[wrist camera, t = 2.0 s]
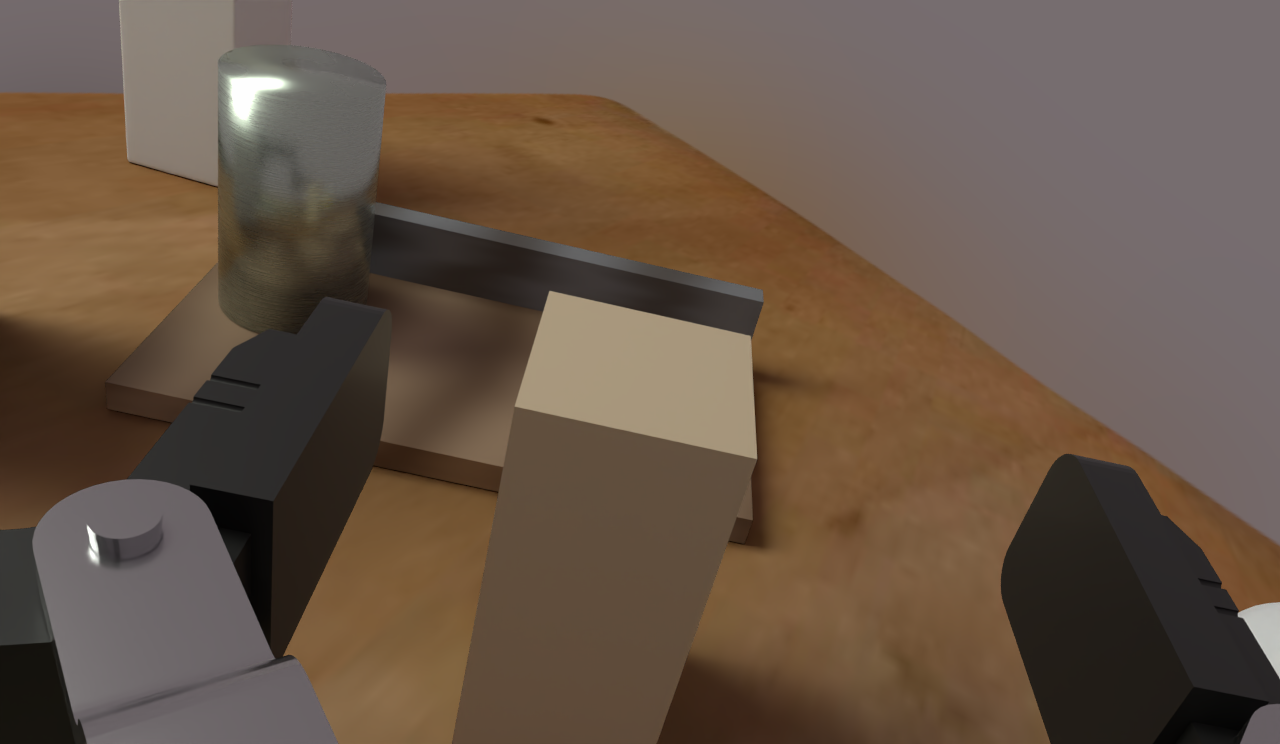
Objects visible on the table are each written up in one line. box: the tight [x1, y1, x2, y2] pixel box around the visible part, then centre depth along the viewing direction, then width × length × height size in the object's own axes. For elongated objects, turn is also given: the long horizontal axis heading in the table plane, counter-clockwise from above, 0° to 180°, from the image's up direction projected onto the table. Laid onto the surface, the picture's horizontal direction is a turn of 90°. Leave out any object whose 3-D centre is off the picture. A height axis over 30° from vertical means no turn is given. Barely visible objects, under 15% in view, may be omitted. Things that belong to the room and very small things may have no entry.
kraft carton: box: [452, 291, 757, 744], centre depth 28 cm, size 6×6×12 cm
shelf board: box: [105, 202, 763, 544], centre depth 43 cm, size 24×13×4 cm, turn 86°
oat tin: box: [218, 45, 386, 334], centre depth 41 cm, size 6×6×10 cm
